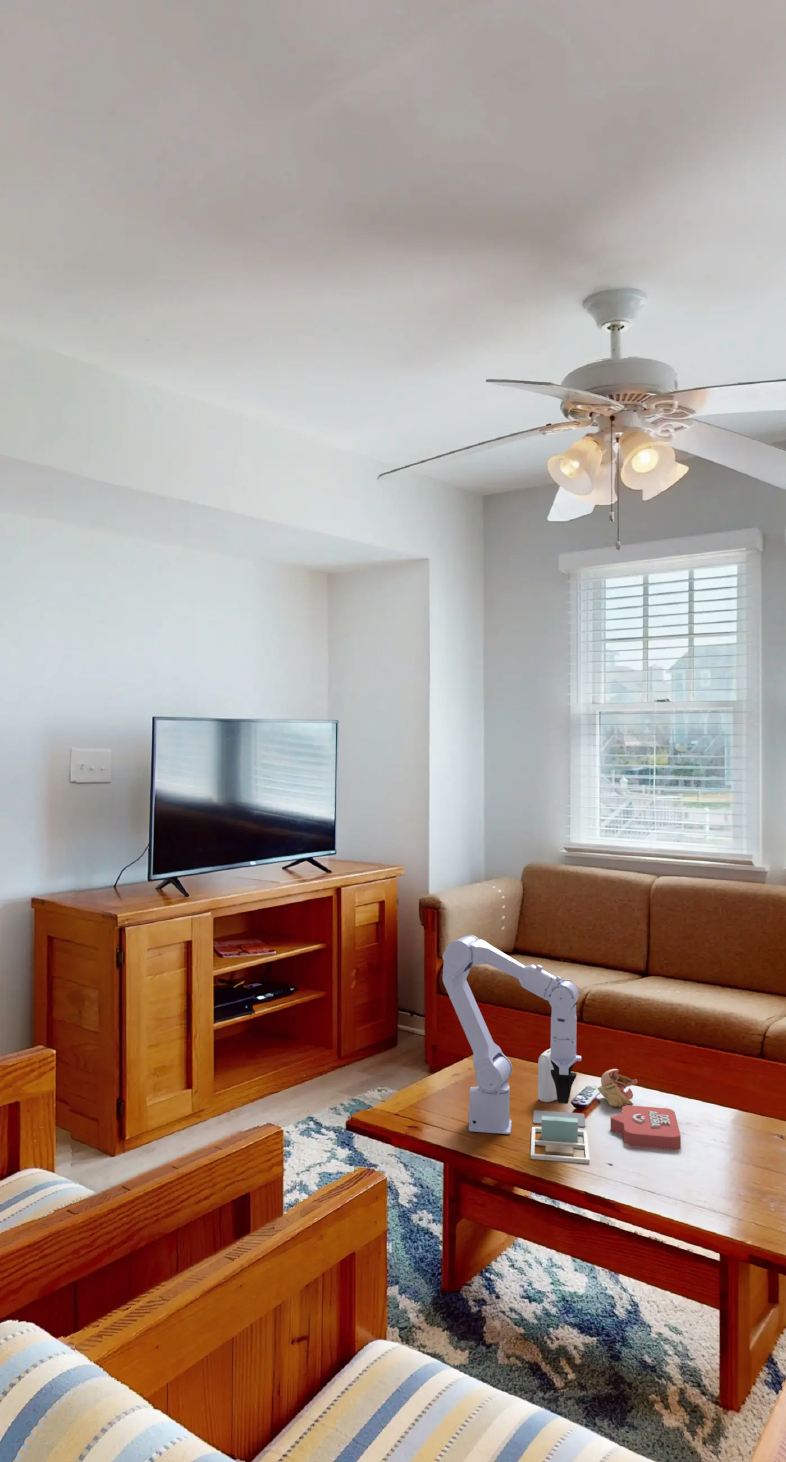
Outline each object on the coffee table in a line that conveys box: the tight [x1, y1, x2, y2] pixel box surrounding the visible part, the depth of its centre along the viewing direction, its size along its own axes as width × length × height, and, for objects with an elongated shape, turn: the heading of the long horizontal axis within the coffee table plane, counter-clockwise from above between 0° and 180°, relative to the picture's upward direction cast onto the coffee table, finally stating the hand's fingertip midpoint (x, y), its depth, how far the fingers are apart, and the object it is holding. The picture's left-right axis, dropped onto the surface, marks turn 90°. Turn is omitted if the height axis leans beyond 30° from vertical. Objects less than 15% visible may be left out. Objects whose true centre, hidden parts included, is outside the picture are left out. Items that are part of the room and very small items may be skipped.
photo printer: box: [537, 1047, 572, 1103], centre depth 243 cm, size 10×4×12 cm, turn 134°
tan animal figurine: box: [597, 1068, 639, 1108], centre depth 239 cm, size 9×10×10 cm
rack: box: [530, 1126, 591, 1164], centre depth 212 cm, size 12×16×1 cm
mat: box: [532, 1109, 586, 1129], centre depth 227 cm, size 12×8×1 cm, turn 81°
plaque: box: [610, 1105, 682, 1151], centre depth 220 cm, size 18×4×15 cm
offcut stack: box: [545, 1145, 575, 1157], centre depth 208 cm, size 6×4×2 cm, turn 80°
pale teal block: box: [540, 1116, 579, 1143], centre depth 216 cm, size 8×2×5 cm, turn 81°
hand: (562, 1097), depth 216 cm, fingers open, 7 cm apart
